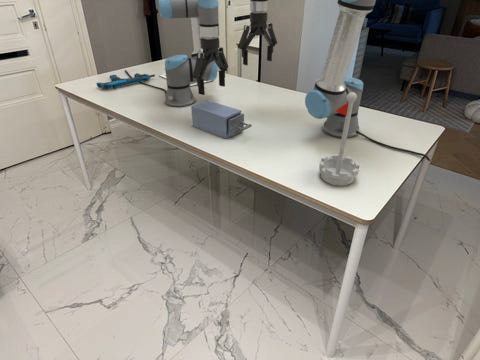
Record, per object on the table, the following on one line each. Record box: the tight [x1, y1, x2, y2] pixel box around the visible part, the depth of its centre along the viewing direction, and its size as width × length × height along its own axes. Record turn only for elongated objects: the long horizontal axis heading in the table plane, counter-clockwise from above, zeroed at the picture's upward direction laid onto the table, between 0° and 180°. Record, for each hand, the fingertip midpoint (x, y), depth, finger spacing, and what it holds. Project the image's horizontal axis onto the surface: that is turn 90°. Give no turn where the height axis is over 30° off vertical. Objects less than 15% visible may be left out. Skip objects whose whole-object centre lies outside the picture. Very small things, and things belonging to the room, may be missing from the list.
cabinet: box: [190, 99, 242, 139], centre depth 150 cm, size 20×10×10 cm, turn 50°
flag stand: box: [318, 92, 360, 187], centre depth 110 cm, size 13×13×30 cm
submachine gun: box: [95, 72, 156, 91], centre depth 209 cm, size 34×4×25 cm
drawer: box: [227, 113, 253, 138], centre depth 147 cm, size 25×9×8 cm, turn 50°
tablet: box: [158, 73, 214, 87], centre depth 216 cm, size 32×20×1 cm, turn 41°
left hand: (212, 90), depth 146 cm, fingers open, 13 cm apart
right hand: (257, 62), depth 157 cm, fingers open, 13 cm apart
